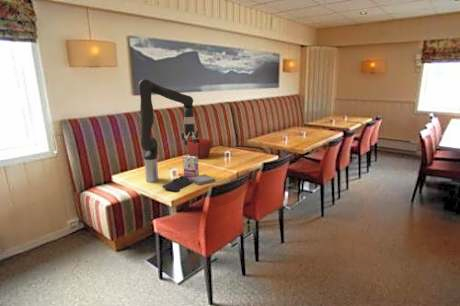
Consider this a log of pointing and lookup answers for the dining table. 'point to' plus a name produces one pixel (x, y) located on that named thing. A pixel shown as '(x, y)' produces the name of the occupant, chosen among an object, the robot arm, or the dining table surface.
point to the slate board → (201, 179)
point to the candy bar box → (190, 166)
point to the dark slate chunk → (178, 183)
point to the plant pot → (199, 148)
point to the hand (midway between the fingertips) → (190, 144)
